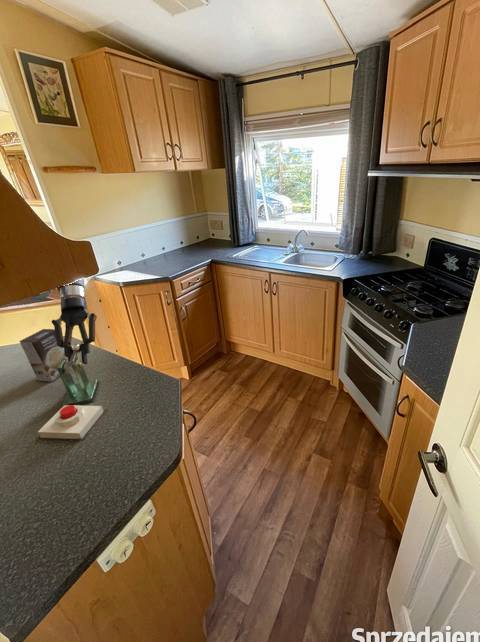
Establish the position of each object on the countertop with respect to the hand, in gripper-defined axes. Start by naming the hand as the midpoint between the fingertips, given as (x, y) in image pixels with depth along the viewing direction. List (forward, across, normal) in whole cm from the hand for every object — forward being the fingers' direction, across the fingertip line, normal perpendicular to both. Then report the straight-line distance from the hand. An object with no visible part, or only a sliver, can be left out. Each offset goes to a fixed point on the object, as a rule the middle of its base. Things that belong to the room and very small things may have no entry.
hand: (78, 364), depth 96 cm
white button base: (+19, -1, +8) cm, 21 cm away
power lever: (-1, 0, +2) cm, 2 cm away
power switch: (+10, 0, -1) cm, 10 cm away
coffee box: (-2, +12, -14) cm, 18 cm away
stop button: (+17, -1, +11) cm, 20 cm away
